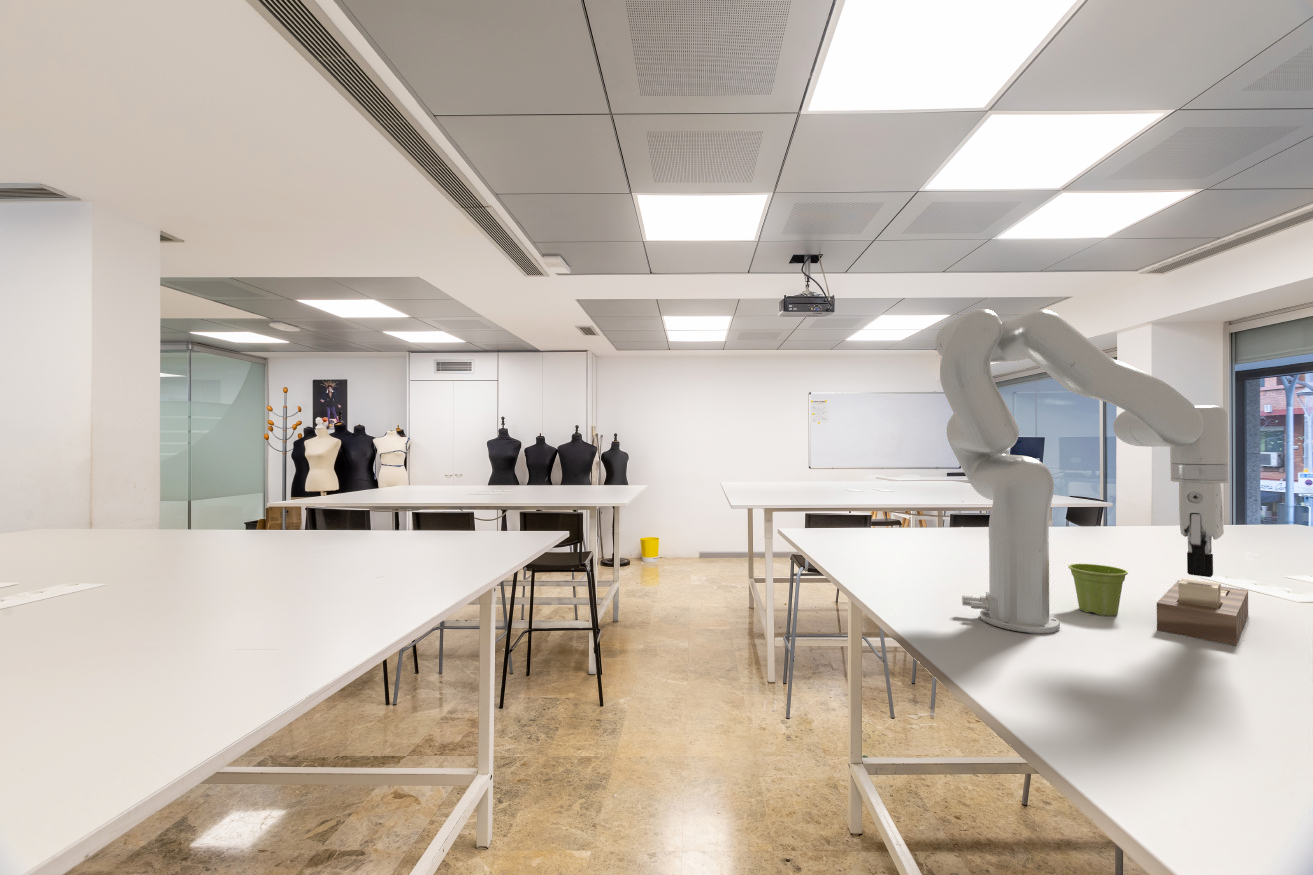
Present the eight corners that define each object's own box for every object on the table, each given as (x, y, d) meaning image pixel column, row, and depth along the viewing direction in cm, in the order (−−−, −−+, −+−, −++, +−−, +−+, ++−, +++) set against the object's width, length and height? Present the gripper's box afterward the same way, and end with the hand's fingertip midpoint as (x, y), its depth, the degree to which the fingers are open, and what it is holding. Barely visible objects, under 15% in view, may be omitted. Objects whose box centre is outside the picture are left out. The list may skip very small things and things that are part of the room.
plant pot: (1058, 603, 117) (1058, 562, 117) (1108, 605, 116) (1107, 563, 116) (1086, 617, 108) (1086, 573, 108) (1140, 619, 107) (1140, 574, 107)
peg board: (1236, 645, 93) (1236, 615, 93) (1156, 630, 101) (1156, 602, 101) (1248, 615, 109) (1248, 589, 109) (1178, 604, 116) (1178, 580, 116)
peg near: (1217, 615, 97) (1217, 588, 97) (1178, 608, 101) (1178, 582, 101) (1220, 609, 101) (1220, 583, 101) (1183, 603, 104) (1182, 577, 104)
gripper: (1223, 477, 93) (1225, 586, 93) (1232, 472, 103) (1234, 572, 103) (1163, 475, 99) (1165, 578, 99) (1177, 471, 109) (1178, 565, 109)
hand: (1200, 574), depth 101 cm, fingers closed
